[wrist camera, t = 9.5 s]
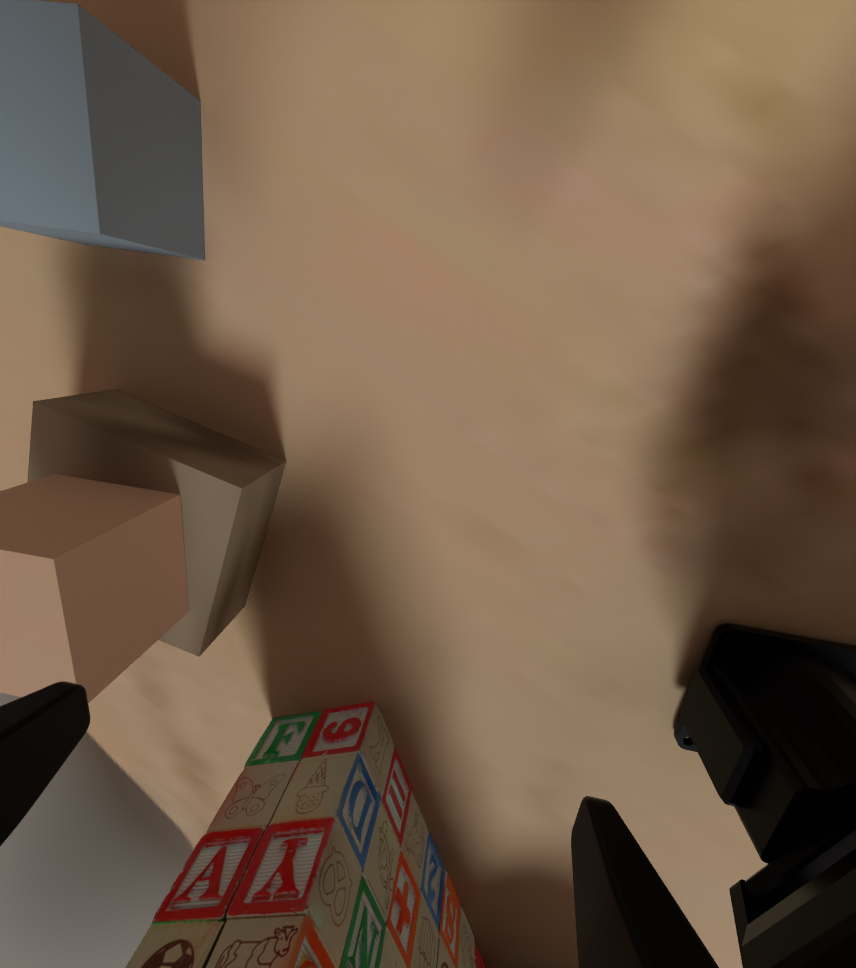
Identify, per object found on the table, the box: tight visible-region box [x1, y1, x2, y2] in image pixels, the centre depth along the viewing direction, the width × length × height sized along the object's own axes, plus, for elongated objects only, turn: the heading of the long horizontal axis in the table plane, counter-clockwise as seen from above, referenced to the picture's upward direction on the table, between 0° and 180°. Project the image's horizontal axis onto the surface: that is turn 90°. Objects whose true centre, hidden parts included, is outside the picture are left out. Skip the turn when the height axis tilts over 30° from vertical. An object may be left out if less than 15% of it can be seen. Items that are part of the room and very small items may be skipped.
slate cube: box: [0, 0, 205, 260], centre depth 14 cm, size 5×5×5 cm
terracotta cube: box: [0, 474, 189, 703], centre depth 15 cm, size 5×5×5 cm
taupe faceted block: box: [28, 389, 286, 656], centre depth 19 cm, size 8×8×4 cm
